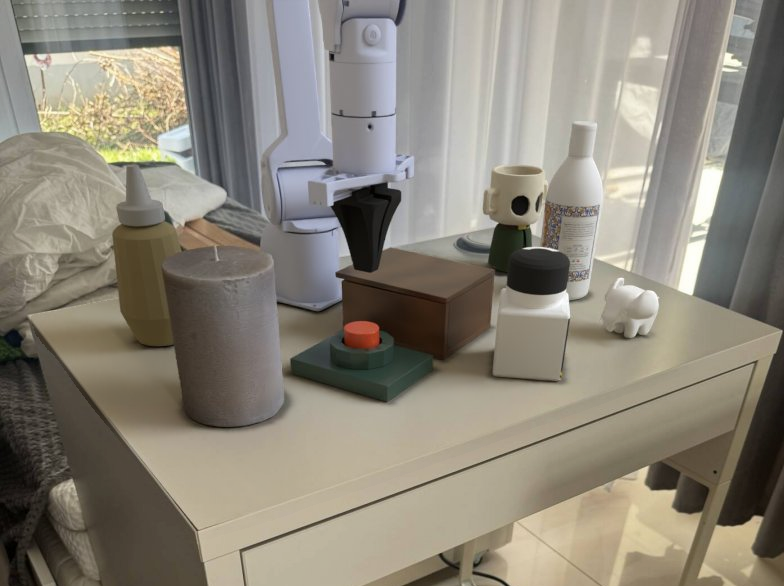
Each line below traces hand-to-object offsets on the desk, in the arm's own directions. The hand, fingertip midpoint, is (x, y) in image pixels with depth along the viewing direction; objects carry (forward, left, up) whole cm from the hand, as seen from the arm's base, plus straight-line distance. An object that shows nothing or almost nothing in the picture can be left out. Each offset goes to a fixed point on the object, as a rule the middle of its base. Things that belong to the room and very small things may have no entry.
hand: (366, 269), depth 76 cm
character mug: (-2, +39, -11) cm, 40 cm away
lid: (-1, +12, -4) cm, 13 cm away
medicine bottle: (+14, +10, -11) cm, 20 cm away
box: (-1, +12, -10) cm, 16 cm away
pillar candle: (-6, -14, -11) cm, 19 cm away
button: (0, -1, -7) cm, 7 cm away
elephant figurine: (+20, +25, -11) cm, 34 cm away
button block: (0, -1, -10) cm, 10 cm away
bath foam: (+8, +34, -11) cm, 37 cm away
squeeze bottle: (-24, -6, -11) cm, 27 cm away
